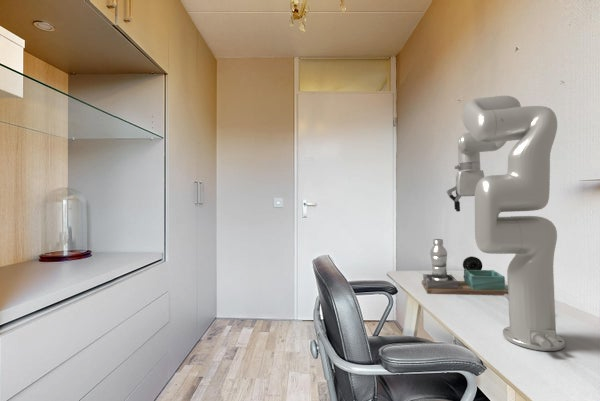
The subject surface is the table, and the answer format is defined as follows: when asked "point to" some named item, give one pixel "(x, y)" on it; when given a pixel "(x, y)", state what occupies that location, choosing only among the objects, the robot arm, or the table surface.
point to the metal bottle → (438, 261)
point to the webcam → (472, 263)
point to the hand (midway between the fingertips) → (471, 210)
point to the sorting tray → (468, 284)
